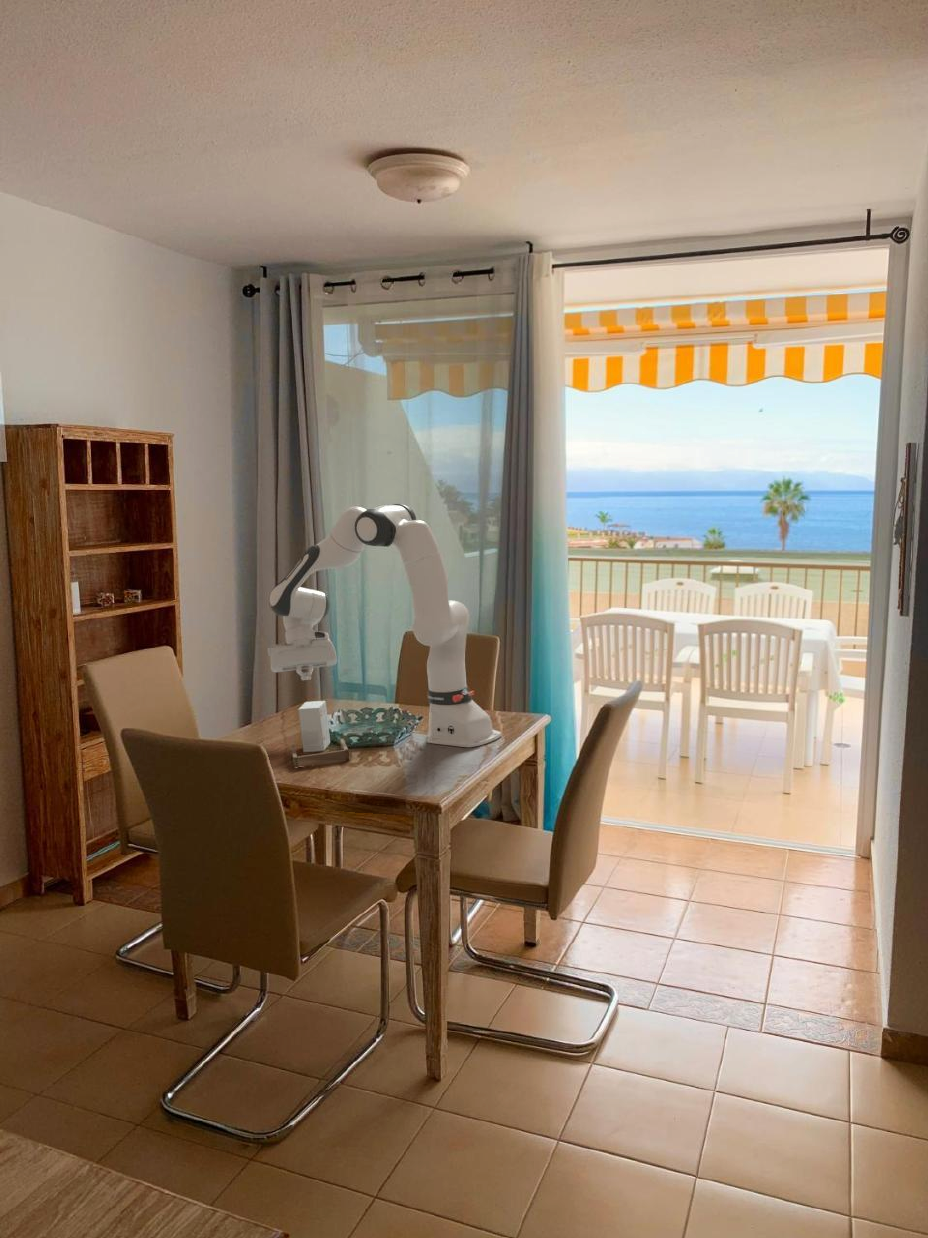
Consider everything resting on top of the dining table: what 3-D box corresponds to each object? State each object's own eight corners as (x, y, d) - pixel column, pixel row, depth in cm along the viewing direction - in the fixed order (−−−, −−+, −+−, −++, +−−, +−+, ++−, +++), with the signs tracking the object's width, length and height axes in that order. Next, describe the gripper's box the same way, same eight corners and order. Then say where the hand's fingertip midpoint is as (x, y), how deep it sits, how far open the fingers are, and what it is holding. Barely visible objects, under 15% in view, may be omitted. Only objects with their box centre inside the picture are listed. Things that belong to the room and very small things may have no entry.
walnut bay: (292, 756, 274) (290, 745, 274) (344, 748, 277) (343, 738, 277) (294, 768, 262) (293, 758, 262) (349, 760, 265) (348, 750, 265)
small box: (310, 744, 285) (305, 701, 283) (330, 743, 284) (326, 700, 282) (302, 752, 277) (297, 708, 275) (324, 751, 276) (319, 707, 274)
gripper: (266, 639, 294) (271, 677, 286) (333, 632, 298) (339, 669, 290) (267, 651, 299) (272, 688, 291) (333, 643, 303) (339, 680, 295)
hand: (306, 678), depth 291 cm, fingers closed
